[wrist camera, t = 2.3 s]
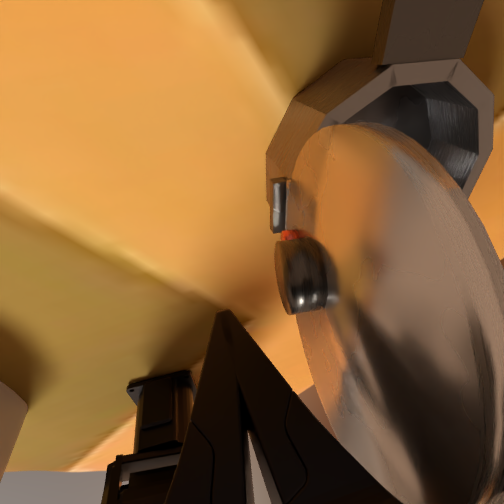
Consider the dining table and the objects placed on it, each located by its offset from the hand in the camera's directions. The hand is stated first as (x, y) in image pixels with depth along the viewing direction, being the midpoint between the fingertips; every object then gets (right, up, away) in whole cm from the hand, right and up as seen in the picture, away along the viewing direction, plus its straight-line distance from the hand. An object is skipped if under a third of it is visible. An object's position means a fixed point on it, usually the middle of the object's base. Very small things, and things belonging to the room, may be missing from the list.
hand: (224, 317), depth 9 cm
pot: (+8, +8, +9) cm, 15 cm away
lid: (+4, +1, +1) cm, 4 cm away
